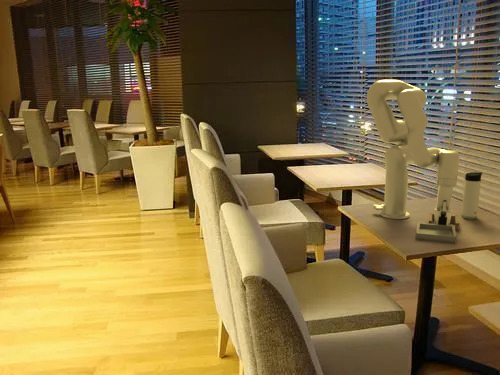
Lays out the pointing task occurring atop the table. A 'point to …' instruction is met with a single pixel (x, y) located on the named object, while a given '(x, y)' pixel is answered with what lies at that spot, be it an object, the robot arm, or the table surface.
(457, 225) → the walnut holder
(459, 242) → the table surface
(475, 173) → the travel mug
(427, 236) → the serving tray
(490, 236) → the table surface
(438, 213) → the white piece
